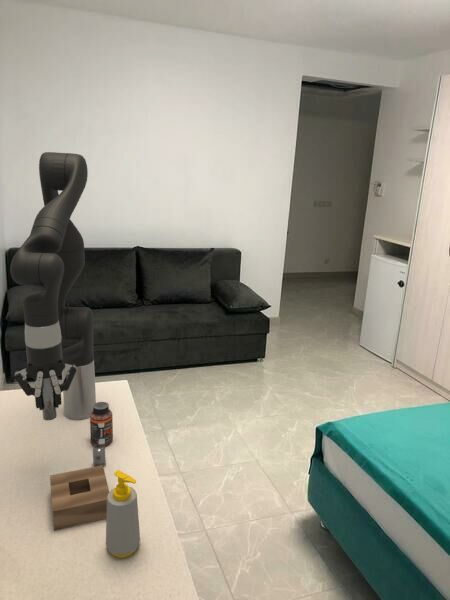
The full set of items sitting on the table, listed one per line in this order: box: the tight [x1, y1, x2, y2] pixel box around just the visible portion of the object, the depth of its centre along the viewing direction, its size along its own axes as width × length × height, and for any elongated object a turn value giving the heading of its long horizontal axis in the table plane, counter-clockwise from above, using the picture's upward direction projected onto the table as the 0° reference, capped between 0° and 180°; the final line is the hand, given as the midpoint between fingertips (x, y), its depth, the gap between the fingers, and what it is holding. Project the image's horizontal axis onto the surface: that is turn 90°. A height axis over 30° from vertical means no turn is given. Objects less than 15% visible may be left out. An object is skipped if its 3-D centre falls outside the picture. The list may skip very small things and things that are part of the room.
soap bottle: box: [105, 469, 141, 559], centre depth 97 cm, size 7×7×18 cm
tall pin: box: [41, 377, 57, 421], centre depth 113 cm, size 3×3×11 cm
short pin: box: [92, 445, 107, 468], centre depth 123 cm, size 3×3×5 cm
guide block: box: [49, 465, 110, 531], centre depth 110 cm, size 12×12×5 cm
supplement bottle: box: [89, 401, 114, 447], centre depth 132 cm, size 6×6×11 cm
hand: (48, 407), depth 114 cm, fingers closed on tall pin, 3 cm apart
